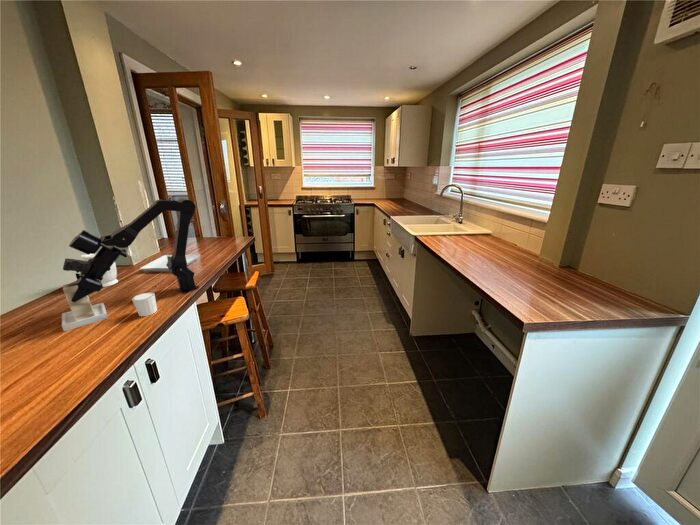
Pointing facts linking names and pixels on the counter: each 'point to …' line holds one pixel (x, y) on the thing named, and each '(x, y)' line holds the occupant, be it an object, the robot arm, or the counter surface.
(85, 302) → the beech block
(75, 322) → the tray
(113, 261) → the robot arm
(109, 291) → the counter surface
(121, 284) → the counter surface
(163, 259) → the salad plate
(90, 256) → the jar
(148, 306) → the shot glass
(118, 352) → the counter surface
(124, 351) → the counter surface
